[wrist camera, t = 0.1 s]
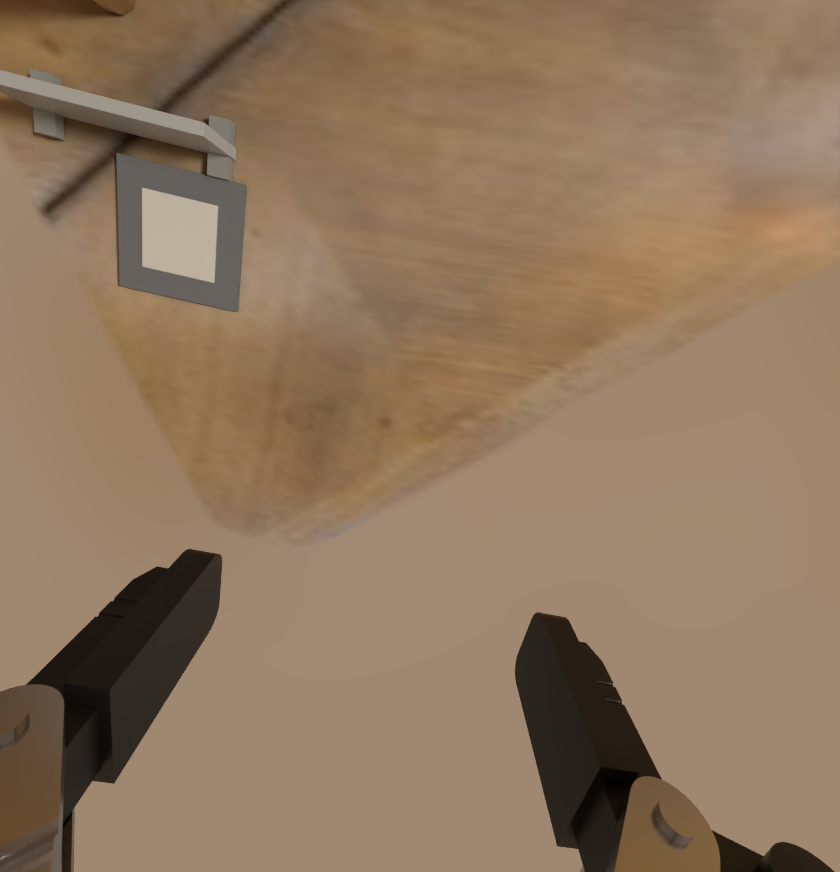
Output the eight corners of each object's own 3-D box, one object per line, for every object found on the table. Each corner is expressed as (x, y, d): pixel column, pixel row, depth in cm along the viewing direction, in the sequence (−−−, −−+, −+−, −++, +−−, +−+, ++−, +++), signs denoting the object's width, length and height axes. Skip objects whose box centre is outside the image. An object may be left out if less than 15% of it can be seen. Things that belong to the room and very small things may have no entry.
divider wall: (36, 73, 30) (-36, 31, 25) (237, 125, 31) (205, 94, 26) (40, 134, 31) (-26, 106, 27) (234, 182, 32) (202, 163, 28)
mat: (119, 154, 32) (115, 152, 31) (246, 186, 32) (244, 184, 32) (122, 285, 35) (118, 285, 34) (238, 311, 36) (235, 311, 35)
